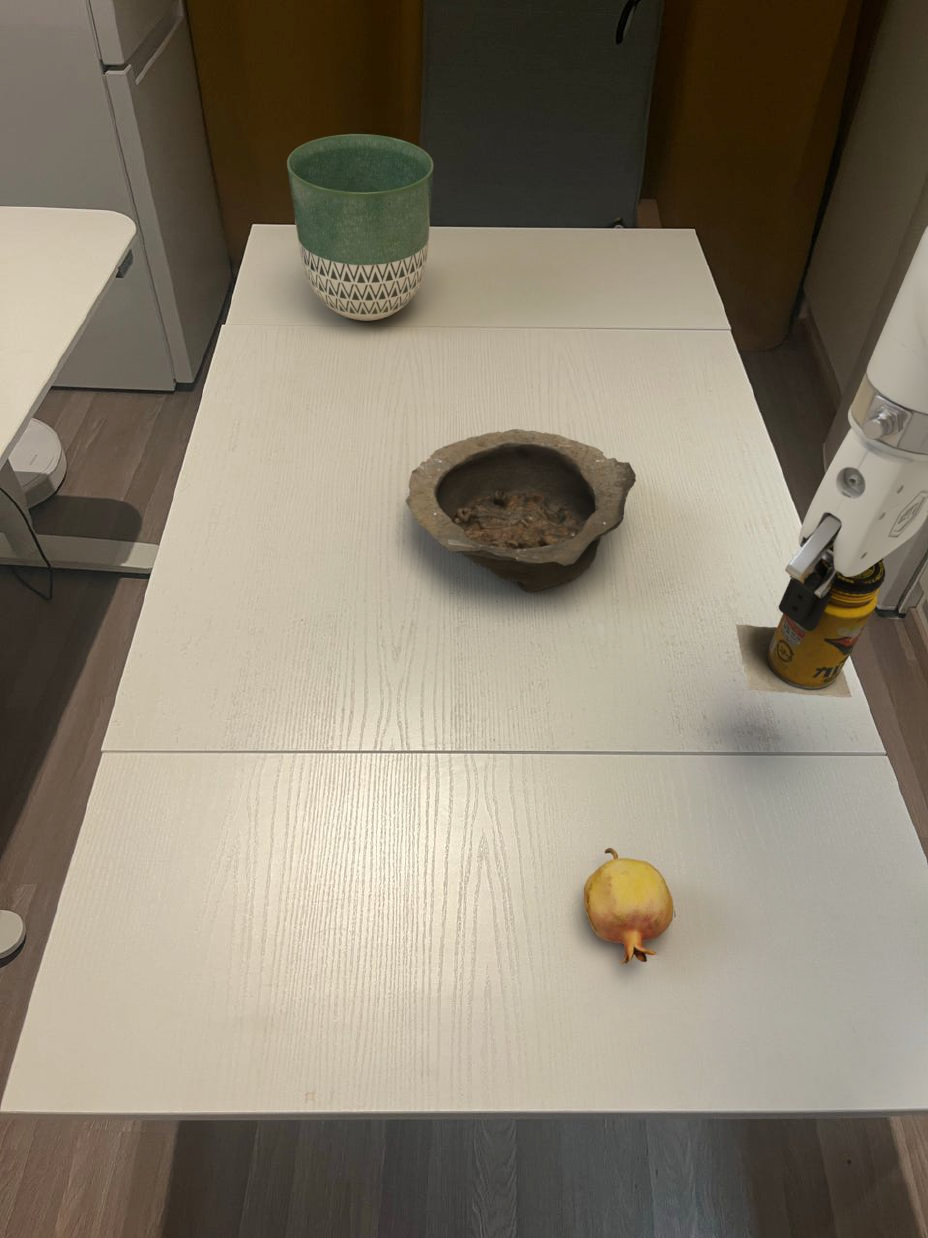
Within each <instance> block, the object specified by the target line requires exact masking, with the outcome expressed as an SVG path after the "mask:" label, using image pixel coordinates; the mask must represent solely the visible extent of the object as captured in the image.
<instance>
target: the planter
mask: <svg viewBox="0 0 928 1238" xmlns="http://www.w3.org/2000/svg"><path fill="white" fill-rule="evenodd" d="M286 166H287V175H288V176H287V177H288V184H289V190H290V196H291V201H292V208H293V215H294V222H295V229H296V235H297V241H298V247H299V248H298V249H299V254H300V259H301V264H302V268H303V270H304V273H305V277H306V278H307V281H308V283H309V285H310V288H311V289H312V291H313V292H314V294H315V295H316V296H317V298H318V299H319V300H320V301H321V302H322V303H323V304H324V305H326V307H328V308H329V309H331V310H332V311H334V312H335V313H337V314H339V315H340V316H341V317H345V318H347V319H351V320H355V321H364V322H365V321H366V322H369V321H371V322H372V321H377V320H382V319H386V318H388V317H390V316H392V315H394V314H396V313H397V312H399V311H400V310H402V308H404V307H405V306H406V305H407V304H408V303H409V302H410V301H412V298H414V296H415V295H416V293H417V292H418V290H419V288H420V286H421V284H422V280H423V277H424V274H425V271H426V267H427V259H428V250H429V239H430V226H431V214H432V213H431V211H432V198H433V187H434V167H435V166H434V161H433V158H432V157H431V156H430V154H429V153H428V152H427V151H425V149H423V148H422V147H420V146H418V145H415V144H414V143H411V142H408V141H406V140H403V139H399V138H395V137H392V136H385V135H377V134H368V133H367V134H366V133H365V134H364V133H349V134H337V135H330V136H325V137H320V138H316V139H314V140H310V141H308V142H305V143H304V144H301V145H300V146H298V147H296V148H295V149H294V150H293V151H292V152H291V153H290V154H289V155H288V157H287V160H286Z"/></svg>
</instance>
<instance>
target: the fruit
mask: <svg viewBox="0 0 928 1238" xmlns="http://www.w3.org/2000/svg"><path fill="white" fill-rule="evenodd" d="M606 854H611V855H612V857H613V858H612V859H610V860H608V861H606V862H605V863H603V864H602V865H600V866H599V867H598V868H597V869H596V870H595V871H594V872H593V873H592V874H591V875H590V876H589V877H588V878H587V880H586V882H585V884H584V887H583V904H584V910H585V913H586V916H587V918H588V921H589V924H590V926H591V929H592V931H593V932H594V933H595V935H596V936H597V937H598V938H600V939H601V940H603V941H606V942H607V941H608V942H611V943H616V944H623V946H624V958H623V959H622V960H621V961H620V964H621V965H623V964H625V965H626V964H629V962H631V961H632V959H633V958H634V956H635V958H636V959H637V960H638V961H640V962H642V963H646V962H648V956H655V955H657V952H656V951H653V950H650V949H648V948H645V947H644V945H643V944H644V943H643V942H648V941H651V940H654V939H655V938H657V937H659V936H660V935H662V934H663V933H664V932H665V931H667V929H668V928H669V926H670V924H671V923H672V921H673V917H674V900H673V896H672V893H671V892H670V890H669V887H668V885H667V882H666V879H665V878H664V876H663V875H662V874H661V872H660V871H659V870H658V869H657V868H656V867H655V866H654V865H652V864H651V863H650V862H648V861H644V860H640V859H633V858H625V857H619V855H618V852H617V851H616V850H615V849H614V848H611V847H608V848H606V849H605V850H604V855H606ZM647 955H648V956H647Z"/></svg>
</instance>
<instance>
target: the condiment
mask: <svg viewBox="0 0 928 1238" xmlns="http://www.w3.org/2000/svg"><path fill="white" fill-rule="evenodd" d="M829 550H831V551H832V552H833V545H831V547H830V548H829ZM830 567H831V566H830V565H829V564H827V563H826V562H824V561H823V560H821V559H820V560H819V561H818V563H817V564H816V565H815V567H814V572H816V573H817V574H818V575H820V577H821V578H822V579H823V578H824V576H825V575H826V573H827V572H828V570H829V569H830ZM885 577H886V568H885V565H884V563H883V561H882V559H881V560H879V561H878V562H877V563H875V564H874V565H872V566H871V567H870V568H868V569H867V570H865V571H864V572H862V573H860V574H858V575H855V576H851V577H845V576H843V575H842V573H840V575H839V576H838V578H837V579H836V581H835V582H834V584H833V585H832V587H831V588H830V590H829V592H830V593H831V594H833V595H832V597H831V599H830V601H829V603H828V605H827V607H826V609H825V611H824V613H823V615H822V617H821V619H820V621H819V623H818V625H817V627H816V628H815V629H814V630H812V631H807V630H806V629H804V628H803V627H801V626H800V625H799V624H797V623H796V622H794V621H793V620H792V619H790V618H789V617H788V616H786V615H785V614H783V613H782V615H781V617H780V620H779V621H778V624H777V626H756V625H750V624H735V627H736V633H737V639H738V644H739V651H740V654H741V659H742V660H741V661H742V665H743V670H744V674H745V679H746V683H747V688H748V691H752V692H757V691H758V692H767V693H770V692H771V693H772V692H775V693H782V694H783V693H785V694H795V695H802V696H803V695H804V696H818V697H835V698H852V697H853V696H852V694H851V690H850V687H849V684H848V680H847V678H846V675H845V672H844V671H845V670H844V669H843V668H844V666H845V665H846V662H847V661H848V659H849V657H850V655H851V653H852V652H853V650H854V648H855V646H856V644H857V642H858V641H859V638H860V636H861V635H862V632H863V631H864V629H865V627H866V626H867V623H868V622H869V620H870V618H871V617H872V615H873V613H874V610H875V609H876V607H877V604H878V595H879V592H880V587H881V586H882V584H883V583H884V582H885Z"/></svg>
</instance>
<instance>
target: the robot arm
mask: <svg viewBox="0 0 928 1238" xmlns="http://www.w3.org/2000/svg"><path fill="white" fill-rule="evenodd" d="M913 254H914V255H913V257H912V259H911V262H910V263H909V266H908V269H907V271H906V273H905V275H904V279H903V280H902V283H901V286H900V288H899V290H898V293H897V295H896V297H895V300H894V302H893V304H892V306H891V308H890V312H889V314H888V316H887V318H886V321H885V324H884V326H883V327H882V331H881V333H880V335H879V338H878V339H877V342H876V345H875V346H874V349H873V352H872V354H871V357H870V359H869V361H868V364H867V366H866V368H865V371H864V373H863V376H862V378H861V380H860V382H859V385H858V387H857V390H856V392H855V394H854V397H853V400H852V402H851V404H850V406H849V409H848V413H847V419H848V423H849V425H850V429H849V430H848V432H847V433H846V435H845V437H844V439H843V440H842V442H841V444H840V445H839V448H838V449H837V451H836V453H835V455H834V457H833V458H832V460H831V462H830V464H829V467H828V468H827V470H826V472H825V474H824V476H823V478H822V480H821V483H820V484H819V486H818V488H817V490H816V492H815V495H814V496H813V498H812V501H811V503H810V505H809V507H808V510H807V512H806V515H805V516H804V518H803V522H802V524H801V527H800V530H799V535H798V545H799V547H800V549H799V550H798V551H797V553H796V554H795V555H794V556H793V558H791V560H790V561H789V562H788V564H787V565H786V566H785V569H784V571H785V572H786V574H788V576H789V578H790V579H789V581H788V584H787V586H786V589H785V591H784V593H783V594H782V595H783V596H782V598H781V600H780V602H779V605H778V610H779V611H780V612H781V613H782V615H783V614H785V615H786V616H788V617H789V618H790V619H792V620H793V621H794V622H796V623H797V624H799V625H800V626H801V627H803V628H804V629H806V630H807V631H812V630H814V629H815V628H816V627H817V625H818V623H819V621H820V619H821V617H822V615H823V613H824V611H825V609H826V607H827V605H828V603H829V601H830V599H831V597H832V595H833V594H831V593H830V592H829V590H830V588H831V587H832V585H833V584H834V582H835V581H836V579H837V578H838V576H839V575H840V573H842V575H843V576H845V577H851V576H855V575H858V574H860V573H862V572H864V571H865V570H867V569H868V568H870V567H871V566H872V565H874V564H875V563H877V562H878V561H879V560H881V559H882V562H883V561H884V560H885V558H886V557H887V556H888V555H889V554H891V553H892V552H894V551H895V550H896V549H898V548H899V547H900V546H901V545H903V544H904V543H906V541H908V540H910V539H911V538H913V536H914V535H915V534H916V533H918V531H919V530H920V529H921V527H922V526H923V525H924V523H925V521H926V519H927V517H928V225H927V226H926V227H925V229H924V232H923V233H922V235H921V238H920V241H919V243H918V245H917V247H916V250H915V252H914V253H913ZM831 545H833V552H832V551H831V550H829V548H830V547H831ZM820 559H821V560H823V561H824V562H826V563H827V564H829V565H830V566H831V567H830V569H829V570H828V572H827V573H826V575H825V576H824V578H823V579H822V578H821V577H820V575H818V574H817V573H816V572H814V567H815V565H816V564H817V563H818V561H819V560H820Z"/></svg>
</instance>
